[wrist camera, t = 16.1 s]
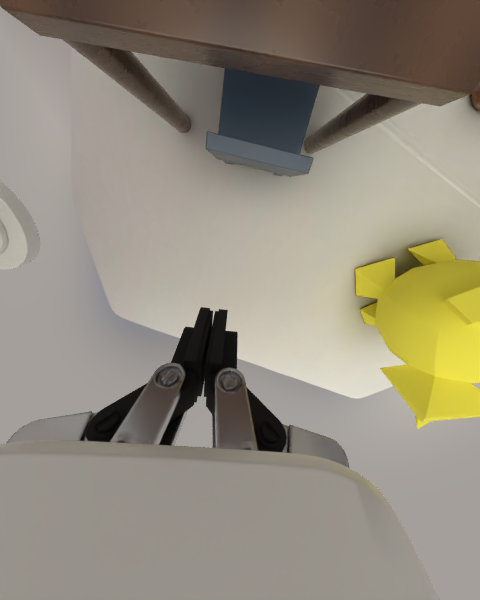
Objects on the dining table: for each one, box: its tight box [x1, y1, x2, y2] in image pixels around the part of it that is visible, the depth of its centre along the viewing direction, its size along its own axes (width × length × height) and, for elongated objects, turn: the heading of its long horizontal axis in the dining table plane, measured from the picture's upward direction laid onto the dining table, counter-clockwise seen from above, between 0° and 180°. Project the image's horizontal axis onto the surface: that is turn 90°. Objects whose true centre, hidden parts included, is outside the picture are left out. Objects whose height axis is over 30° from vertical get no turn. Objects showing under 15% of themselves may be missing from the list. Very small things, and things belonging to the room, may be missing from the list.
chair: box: [206, 68, 319, 177], centre depth 17 cm, size 8×8×12 cm
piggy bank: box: [355, 239, 480, 429], centre depth 25 cm, size 20×20×19 cm
